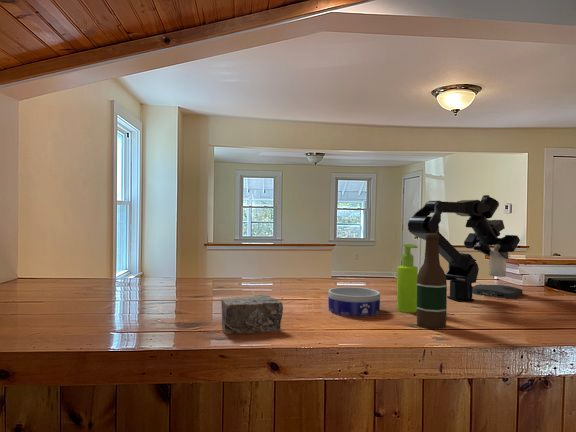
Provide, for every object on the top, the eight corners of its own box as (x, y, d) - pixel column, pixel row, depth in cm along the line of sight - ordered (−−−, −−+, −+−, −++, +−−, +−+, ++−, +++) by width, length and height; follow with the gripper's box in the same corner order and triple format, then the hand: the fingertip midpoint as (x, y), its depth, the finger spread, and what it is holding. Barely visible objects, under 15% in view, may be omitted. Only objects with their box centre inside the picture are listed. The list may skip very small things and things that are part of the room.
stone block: (270, 322, 109) (270, 293, 109) (283, 331, 101) (283, 300, 101) (218, 327, 104) (218, 297, 104) (226, 336, 95) (227, 304, 95)
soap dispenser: (405, 314, 118) (406, 245, 118) (393, 308, 125) (393, 243, 125) (423, 313, 120) (423, 244, 120) (410, 307, 127) (410, 243, 126)
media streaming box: (525, 295, 150) (525, 287, 150) (511, 300, 140) (511, 292, 140) (484, 289, 161) (484, 282, 161) (468, 294, 151) (468, 286, 151)
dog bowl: (364, 304, 132) (364, 285, 132) (390, 315, 117) (390, 294, 117) (320, 307, 127) (320, 287, 127) (341, 319, 112) (341, 297, 112)
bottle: (503, 277, 146) (504, 242, 146) (487, 275, 150) (488, 242, 150) (507, 275, 151) (508, 242, 151) (491, 274, 154) (492, 241, 154)
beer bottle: (422, 320, 112) (423, 232, 112) (451, 325, 107) (452, 233, 107) (410, 325, 106) (411, 233, 106) (441, 331, 101) (442, 234, 101)
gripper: (517, 212, 140) (534, 243, 146) (469, 212, 156) (486, 240, 162) (503, 235, 136) (521, 266, 142) (455, 232, 152) (473, 261, 158)
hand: (499, 257), depth 151 cm, fingers closed on bottle, 5 cm apart
